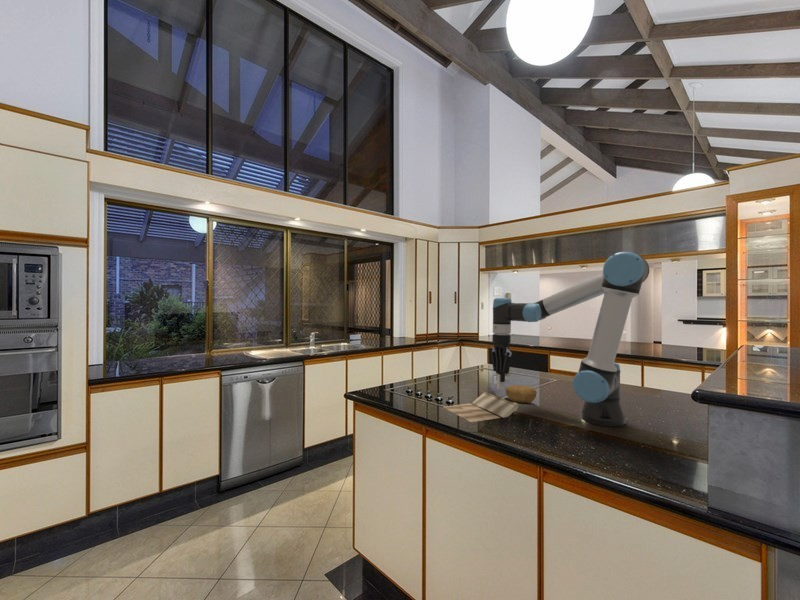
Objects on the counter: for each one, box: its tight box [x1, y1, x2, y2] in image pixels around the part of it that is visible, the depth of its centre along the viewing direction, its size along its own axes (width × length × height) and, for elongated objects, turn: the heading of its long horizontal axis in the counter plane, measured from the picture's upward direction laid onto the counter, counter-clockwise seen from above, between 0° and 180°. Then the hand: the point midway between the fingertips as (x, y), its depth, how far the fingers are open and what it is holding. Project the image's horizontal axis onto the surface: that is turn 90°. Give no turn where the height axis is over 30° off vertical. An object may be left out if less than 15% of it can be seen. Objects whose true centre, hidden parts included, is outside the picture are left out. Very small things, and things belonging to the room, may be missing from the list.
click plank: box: [472, 391, 519, 418], centre depth 156 cm, size 22×8×1 cm
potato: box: [504, 384, 537, 404], centre depth 169 cm, size 10×14×8 cm
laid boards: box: [442, 403, 501, 423], centre depth 152 cm, size 22×14×1 cm, turn 22°
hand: (500, 388), depth 159 cm, fingers closed
